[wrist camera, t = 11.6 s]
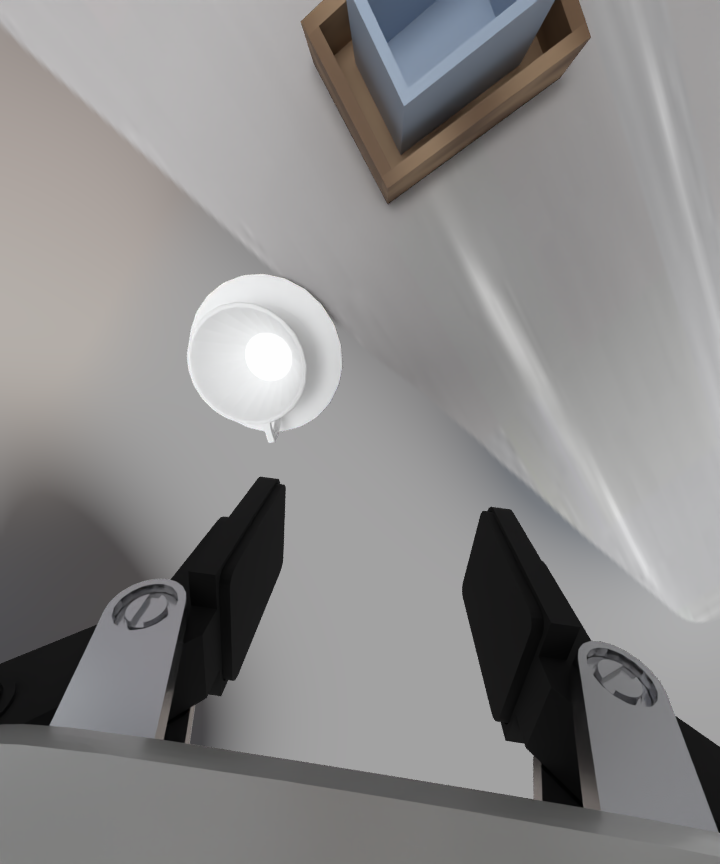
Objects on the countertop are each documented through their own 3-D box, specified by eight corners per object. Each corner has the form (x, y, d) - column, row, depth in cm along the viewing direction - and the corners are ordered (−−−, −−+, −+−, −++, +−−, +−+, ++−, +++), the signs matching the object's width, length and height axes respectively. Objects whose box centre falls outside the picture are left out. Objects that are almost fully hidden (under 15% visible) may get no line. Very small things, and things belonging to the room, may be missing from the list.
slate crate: (478, -43, 19) (514, -184, 14) (519, 64, 21) (567, -24, 15) (355, 63, 21) (342, -23, 16) (400, 155, 23) (404, 106, 17)
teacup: (241, 444, 32) (213, 471, 27) (170, 312, 28) (123, 314, 23) (367, 398, 29) (362, 417, 24) (306, 247, 26) (286, 234, 21)
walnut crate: (494, -99, 19) (516, -183, 16) (560, 77, 21) (590, 36, 18) (313, 63, 22) (300, 21, 19) (387, 204, 24) (387, 188, 21)
